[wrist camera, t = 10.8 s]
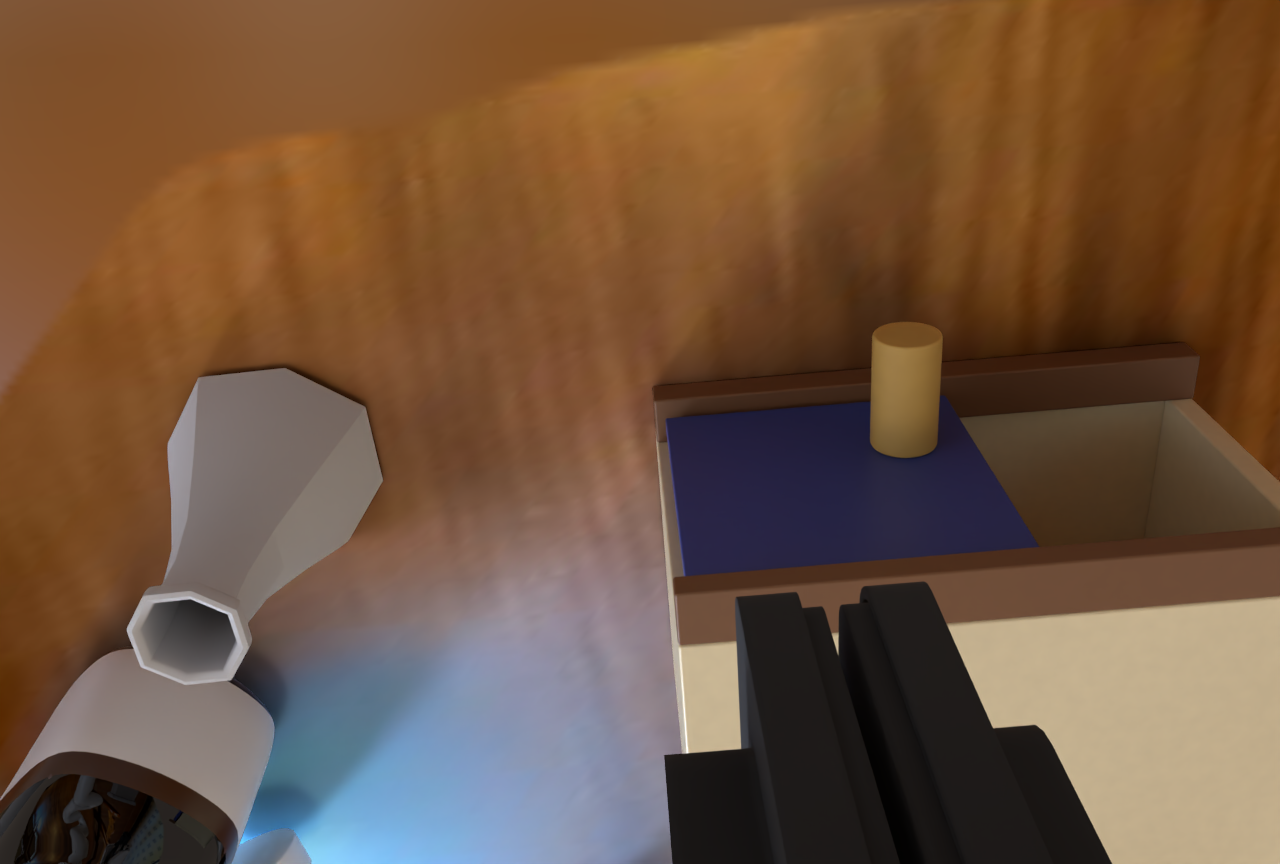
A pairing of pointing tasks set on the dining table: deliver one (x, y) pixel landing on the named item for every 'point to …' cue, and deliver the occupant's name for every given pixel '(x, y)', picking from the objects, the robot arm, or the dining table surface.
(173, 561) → the flask
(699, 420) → the sliding door
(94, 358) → the dining table surface
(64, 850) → the spread jar
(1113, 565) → the box with blue drawer
